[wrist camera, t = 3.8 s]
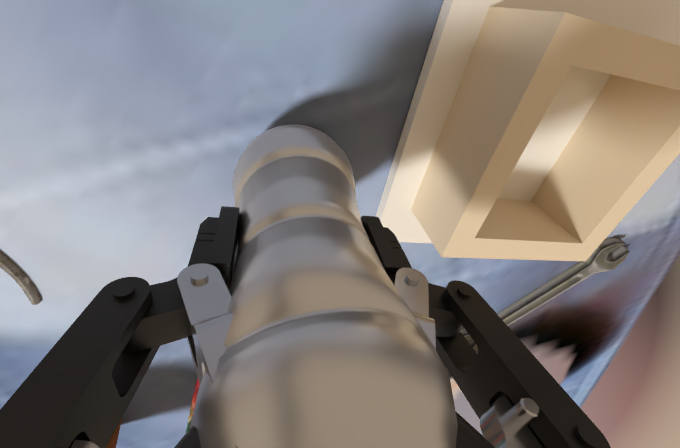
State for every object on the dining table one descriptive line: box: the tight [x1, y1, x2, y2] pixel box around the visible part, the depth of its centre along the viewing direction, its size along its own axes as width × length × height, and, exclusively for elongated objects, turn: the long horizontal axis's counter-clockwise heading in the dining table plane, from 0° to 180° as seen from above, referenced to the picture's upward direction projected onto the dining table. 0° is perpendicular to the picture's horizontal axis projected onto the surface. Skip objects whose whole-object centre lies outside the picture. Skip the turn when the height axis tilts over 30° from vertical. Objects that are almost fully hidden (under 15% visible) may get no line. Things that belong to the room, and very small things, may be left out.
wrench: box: [461, 238, 630, 351], centre depth 34 cm, size 5×20×1 cm, turn 135°
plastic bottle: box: [190, 124, 458, 448], centre depth 12 cm, size 6×7×20 cm
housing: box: [375, 0, 680, 261], centre depth 18 cm, size 18×15×6 cm
